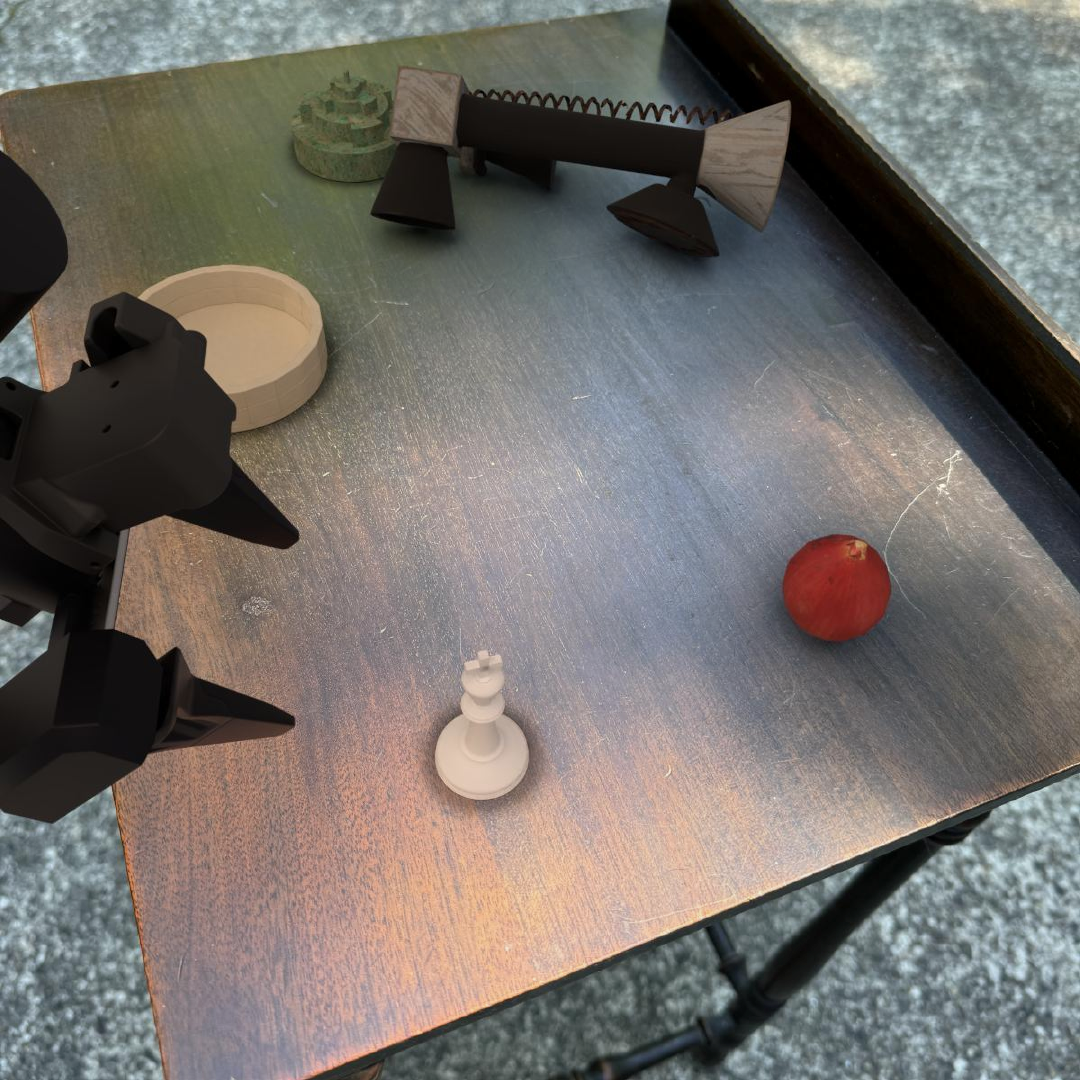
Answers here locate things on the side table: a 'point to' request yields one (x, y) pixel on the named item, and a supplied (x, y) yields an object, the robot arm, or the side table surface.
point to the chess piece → (482, 737)
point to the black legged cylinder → (581, 155)
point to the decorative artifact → (345, 130)
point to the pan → (251, 336)
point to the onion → (836, 587)
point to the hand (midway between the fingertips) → (291, 628)
